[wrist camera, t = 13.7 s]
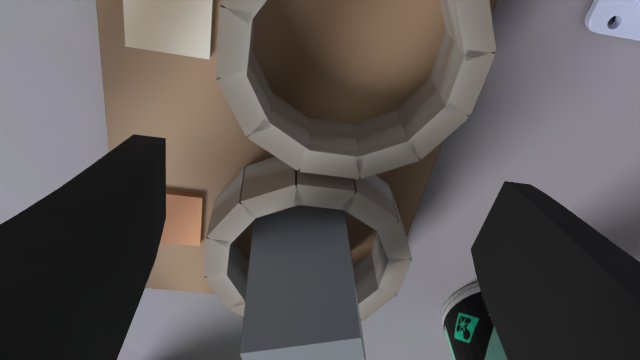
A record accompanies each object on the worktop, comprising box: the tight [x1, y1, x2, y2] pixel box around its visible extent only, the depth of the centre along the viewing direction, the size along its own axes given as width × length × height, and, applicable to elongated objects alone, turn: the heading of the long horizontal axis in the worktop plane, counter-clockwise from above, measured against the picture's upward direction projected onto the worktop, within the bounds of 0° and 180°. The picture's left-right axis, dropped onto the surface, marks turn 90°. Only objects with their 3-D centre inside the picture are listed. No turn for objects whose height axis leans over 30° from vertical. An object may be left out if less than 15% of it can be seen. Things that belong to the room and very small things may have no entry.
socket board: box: [96, 0, 497, 320], centre depth 20 cm, size 14×20×4 cm
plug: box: [240, 205, 366, 360], centre depth 20 cm, size 4×4×8 cm
